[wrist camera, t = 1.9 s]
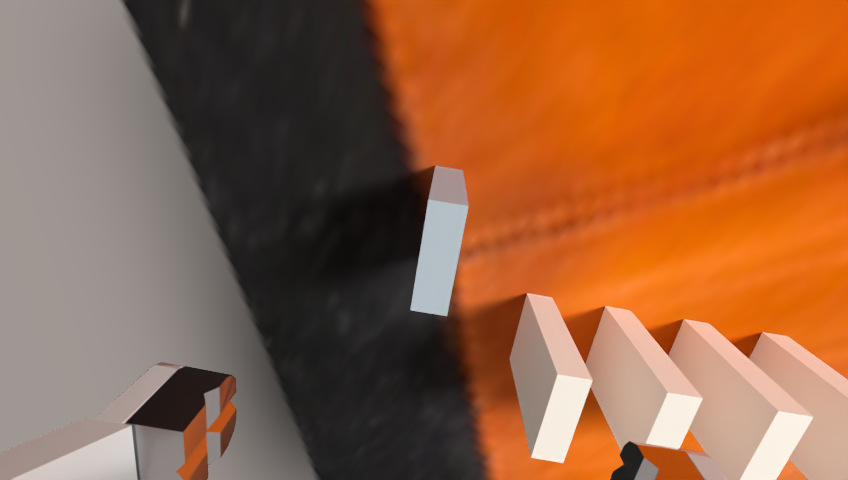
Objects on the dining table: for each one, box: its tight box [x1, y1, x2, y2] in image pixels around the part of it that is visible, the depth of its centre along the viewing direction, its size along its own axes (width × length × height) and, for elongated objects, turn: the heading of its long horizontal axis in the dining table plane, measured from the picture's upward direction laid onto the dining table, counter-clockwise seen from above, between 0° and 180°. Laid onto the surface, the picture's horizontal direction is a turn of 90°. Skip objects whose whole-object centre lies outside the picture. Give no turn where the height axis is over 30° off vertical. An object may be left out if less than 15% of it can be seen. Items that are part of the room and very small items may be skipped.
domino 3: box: [585, 306, 703, 451], centre depth 23 cm, size 2×5×8 cm, turn 171°
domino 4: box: [668, 319, 813, 480], centre depth 23 cm, size 2×5×8 cm, turn 171°
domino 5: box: [749, 332, 848, 480], centre depth 23 cm, size 2×5×8 cm, turn 171°
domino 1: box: [411, 166, 468, 316], centre depth 21 cm, size 2×5×8 cm, turn 171°
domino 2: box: [510, 293, 593, 463], centre depth 23 cm, size 2×5×8 cm, turn 171°
